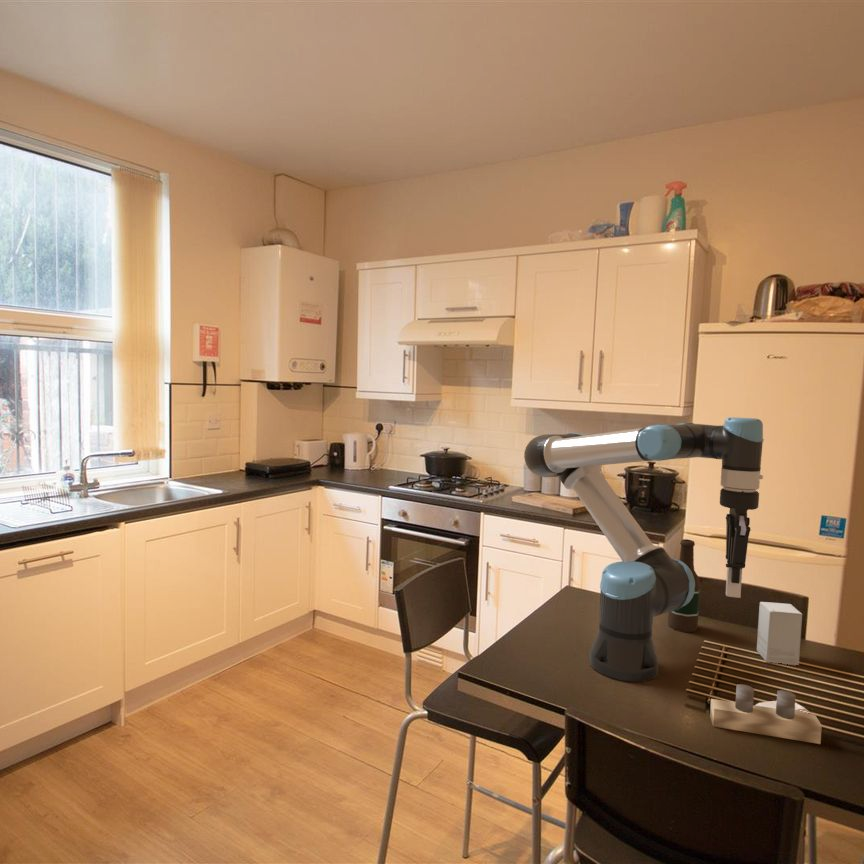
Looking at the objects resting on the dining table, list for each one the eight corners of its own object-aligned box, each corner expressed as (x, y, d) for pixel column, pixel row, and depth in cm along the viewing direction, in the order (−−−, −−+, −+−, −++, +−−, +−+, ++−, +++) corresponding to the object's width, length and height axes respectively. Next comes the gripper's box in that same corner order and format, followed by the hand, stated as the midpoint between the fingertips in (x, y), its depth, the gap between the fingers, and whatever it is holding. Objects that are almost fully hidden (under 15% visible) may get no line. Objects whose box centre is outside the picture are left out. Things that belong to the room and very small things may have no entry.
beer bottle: (664, 620, 171) (669, 536, 169) (693, 623, 170) (698, 537, 168) (671, 631, 163) (676, 543, 162) (701, 634, 162) (707, 544, 161)
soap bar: (753, 714, 122) (754, 701, 122) (790, 709, 125) (790, 697, 125) (772, 727, 118) (773, 714, 117) (810, 722, 120) (811, 709, 120)
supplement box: (799, 666, 144) (803, 614, 143) (765, 662, 146) (769, 610, 145) (788, 653, 151) (791, 603, 151) (755, 650, 153) (758, 600, 152)
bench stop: (713, 726, 117) (715, 688, 116) (709, 715, 121) (712, 678, 120) (820, 744, 112) (823, 704, 111) (813, 732, 116) (816, 694, 115)
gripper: (766, 495, 125) (758, 608, 127) (752, 486, 137) (745, 589, 139) (726, 492, 127) (719, 603, 129) (715, 483, 140) (709, 585, 141)
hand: (732, 595), depth 134 cm, fingers closed
